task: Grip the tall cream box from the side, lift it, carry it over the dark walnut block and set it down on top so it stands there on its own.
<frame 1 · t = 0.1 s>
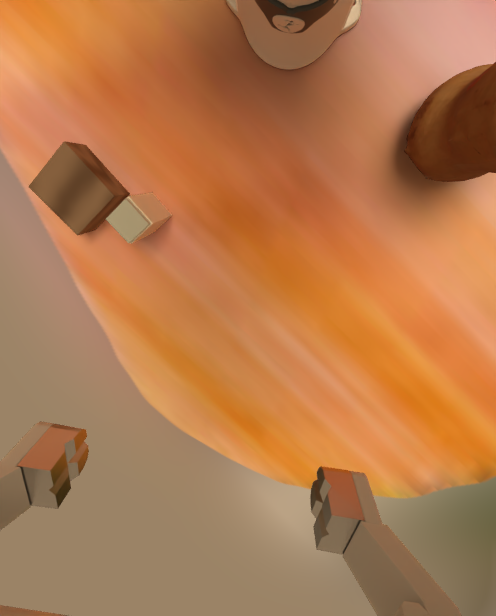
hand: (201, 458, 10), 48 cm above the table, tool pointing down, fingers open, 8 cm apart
walnut block: (91, 189, 53), on the table
tall cream box: (153, 212, 54), on the table
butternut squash: (438, 136, 46), on the table
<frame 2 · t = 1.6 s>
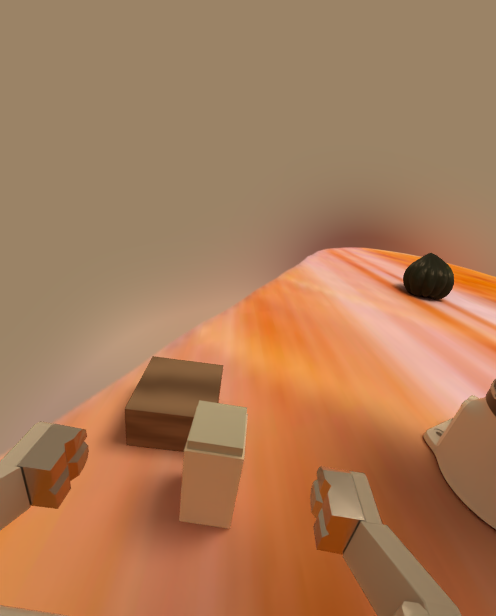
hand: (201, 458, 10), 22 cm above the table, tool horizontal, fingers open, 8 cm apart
walnut block: (178, 419, 40), on the table
tall cream box: (209, 498, 31), on the table
squash: (420, 294, 104), on the table
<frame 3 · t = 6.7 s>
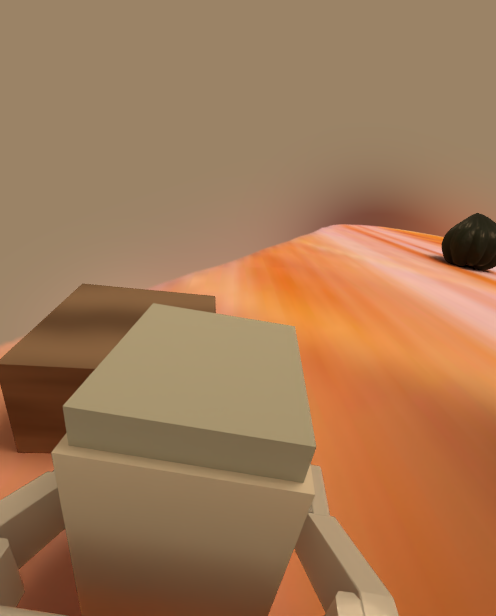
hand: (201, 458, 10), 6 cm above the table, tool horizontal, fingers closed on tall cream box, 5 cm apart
walnut block: (137, 394, 21), on the table
tall cream box: (184, 579, 12), on the table, touching gripper
squash: (462, 265, 86), on the table
when the fingers open (12 cm above the table, at t = 11.3 s): tall cream box stays where it is, point 6 cm above the table.
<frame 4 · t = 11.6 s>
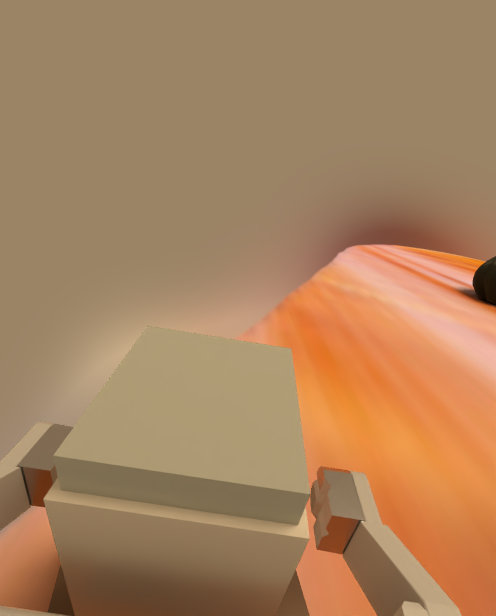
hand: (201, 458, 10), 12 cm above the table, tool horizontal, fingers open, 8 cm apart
tall cream box: (183, 590, 12), point 6 cm above the table
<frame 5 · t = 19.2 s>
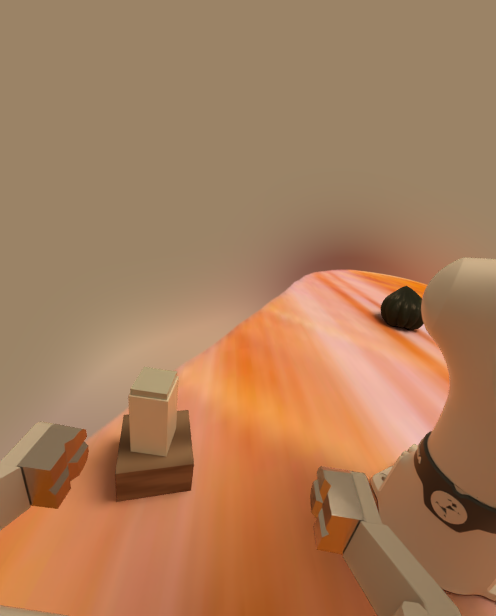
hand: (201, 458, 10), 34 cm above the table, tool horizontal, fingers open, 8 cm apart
walnut block: (155, 465, 46), on the table, touching tall cream box
tall cream box: (154, 439, 43), point 6 cm above the table, touching walnut block
squash: (397, 324, 110), on the table
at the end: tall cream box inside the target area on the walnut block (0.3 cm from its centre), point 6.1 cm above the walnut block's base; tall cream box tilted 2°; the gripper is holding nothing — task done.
